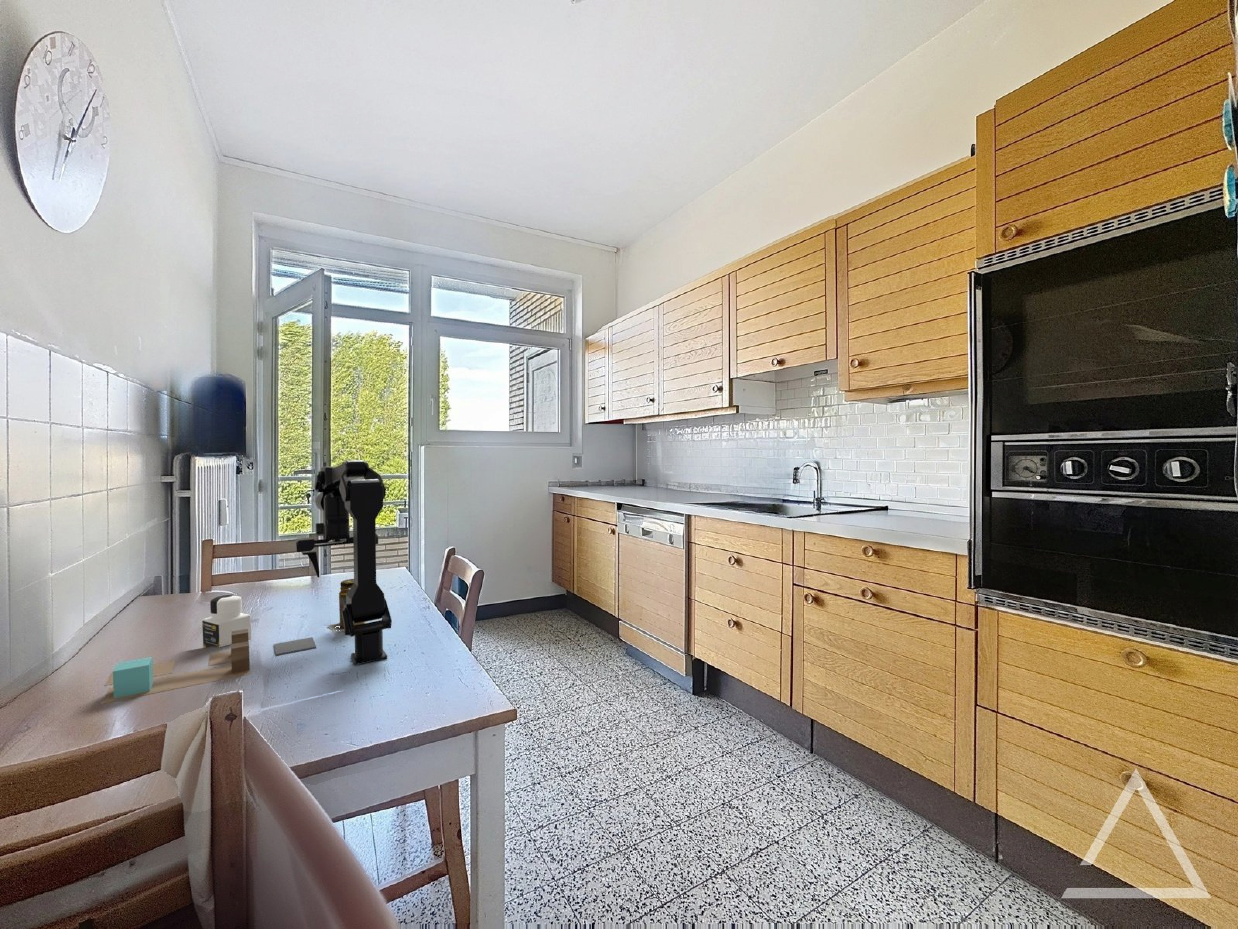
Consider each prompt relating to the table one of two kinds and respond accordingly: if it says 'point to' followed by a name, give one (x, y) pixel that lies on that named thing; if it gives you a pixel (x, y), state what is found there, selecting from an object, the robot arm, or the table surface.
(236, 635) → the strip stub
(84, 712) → the table surface
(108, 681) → the board
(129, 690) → the cube
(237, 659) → the strip
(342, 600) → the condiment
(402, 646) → the table surface
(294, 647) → the coaster
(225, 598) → the medicine bottle
